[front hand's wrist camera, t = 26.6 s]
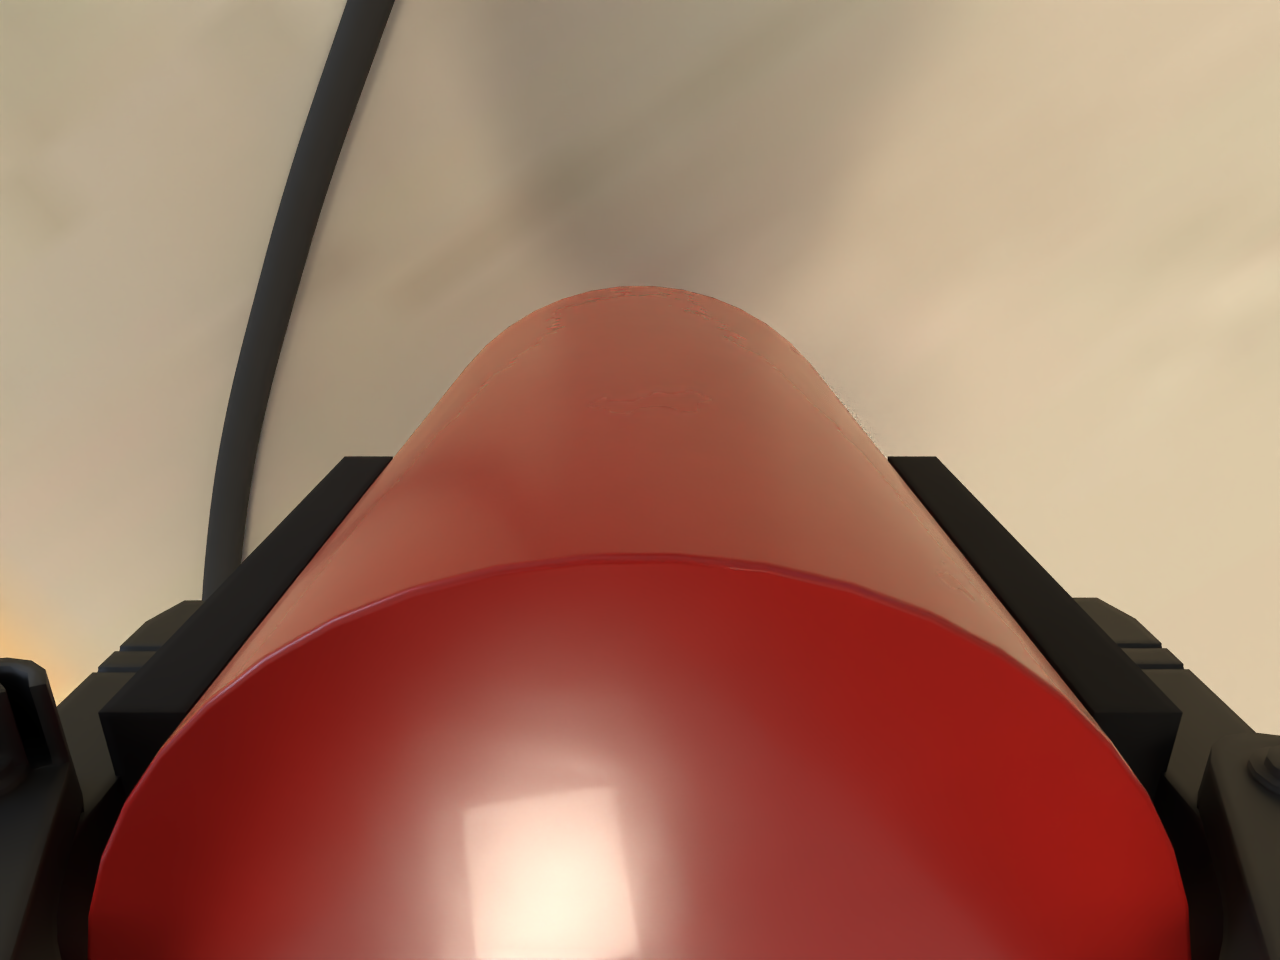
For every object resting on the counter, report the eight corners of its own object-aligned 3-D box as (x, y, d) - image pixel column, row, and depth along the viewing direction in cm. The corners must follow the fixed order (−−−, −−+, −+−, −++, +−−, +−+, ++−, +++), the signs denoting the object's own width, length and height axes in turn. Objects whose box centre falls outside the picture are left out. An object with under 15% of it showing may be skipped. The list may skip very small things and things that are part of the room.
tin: (433, 672, 17) (172, 1331, 7) (416, 272, 14) (-37, 520, 5) (823, 690, 17) (1049, 1357, 8) (884, 298, 14) (1368, 588, 5)
